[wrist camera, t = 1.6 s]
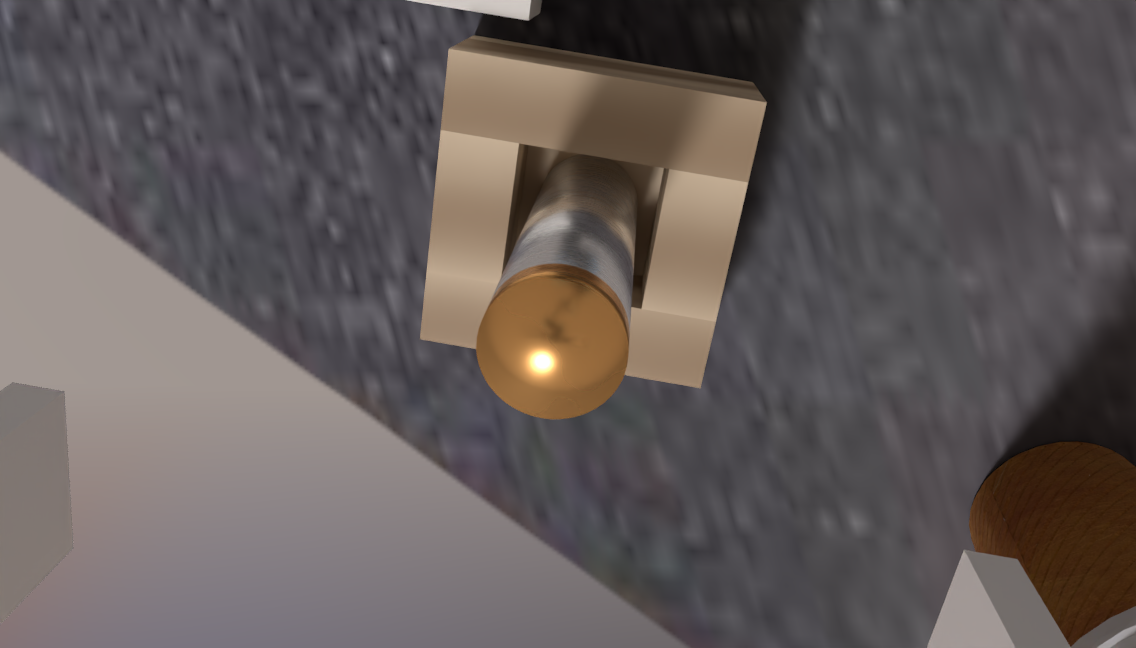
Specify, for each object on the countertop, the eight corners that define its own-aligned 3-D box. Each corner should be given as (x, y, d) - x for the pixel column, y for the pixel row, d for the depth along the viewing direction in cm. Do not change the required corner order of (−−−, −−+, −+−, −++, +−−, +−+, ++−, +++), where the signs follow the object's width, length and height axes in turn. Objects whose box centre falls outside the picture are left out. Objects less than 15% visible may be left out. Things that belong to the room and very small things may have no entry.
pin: (547, 146, 30) (485, 267, 19) (645, 162, 30) (641, 294, 19) (533, 240, 31) (468, 404, 20) (628, 256, 31) (614, 430, 20)
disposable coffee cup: (945, 394, 33) (1090, 621, 22) (1227, 406, 33) (1521, 647, 22) (906, 611, 37) (1014, 898, 26) (1159, 626, 36) (1381, 928, 25)
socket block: (474, 35, 30) (448, 48, 26) (752, 82, 30) (766, 102, 26) (445, 294, 33) (420, 338, 30) (695, 338, 33) (700, 388, 30)
